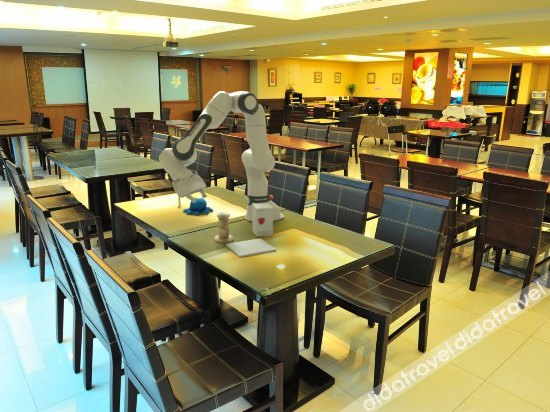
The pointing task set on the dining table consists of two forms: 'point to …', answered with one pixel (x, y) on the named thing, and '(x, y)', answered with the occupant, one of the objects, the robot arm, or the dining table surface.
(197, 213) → the plush toy
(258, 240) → the grey rubber mat
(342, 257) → the dining table surface
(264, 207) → the supplement box
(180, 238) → the dining table surface
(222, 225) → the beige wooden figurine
